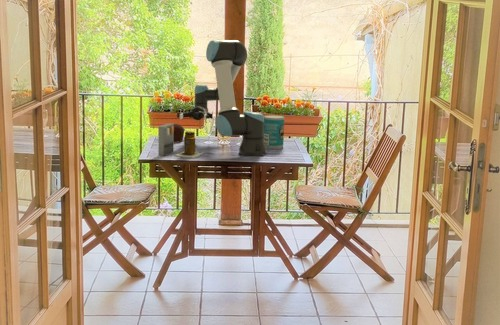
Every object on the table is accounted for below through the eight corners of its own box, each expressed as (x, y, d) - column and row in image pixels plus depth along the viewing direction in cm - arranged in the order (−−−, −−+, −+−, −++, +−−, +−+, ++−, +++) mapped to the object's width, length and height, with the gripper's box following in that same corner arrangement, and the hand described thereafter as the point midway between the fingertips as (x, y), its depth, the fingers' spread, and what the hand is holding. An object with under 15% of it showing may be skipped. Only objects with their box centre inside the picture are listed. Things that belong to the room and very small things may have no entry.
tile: (202, 154, 395) (202, 153, 395) (194, 157, 385) (194, 156, 385) (184, 152, 399) (184, 151, 399) (175, 155, 389) (175, 154, 389)
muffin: (162, 139, 435) (162, 123, 433) (178, 138, 442) (178, 122, 440) (172, 142, 426) (172, 126, 424) (188, 141, 432) (188, 124, 430)
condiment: (198, 153, 393) (198, 132, 391) (188, 156, 386) (188, 134, 384) (188, 152, 397) (188, 130, 395) (178, 154, 391) (178, 132, 388)
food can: (286, 148, 419) (287, 117, 415) (267, 149, 415) (268, 118, 411) (278, 144, 430) (279, 114, 426) (259, 145, 426) (260, 115, 422)
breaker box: (175, 152, 398) (175, 123, 395) (165, 156, 387) (165, 126, 384) (168, 151, 399) (168, 123, 396) (158, 155, 388) (158, 126, 385)
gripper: (219, 120, 420) (214, 124, 399) (177, 119, 422) (170, 123, 401) (219, 107, 419) (214, 111, 398) (177, 106, 421) (170, 110, 400)
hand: (192, 117), depth 400 cm, fingers open, 13 cm apart
